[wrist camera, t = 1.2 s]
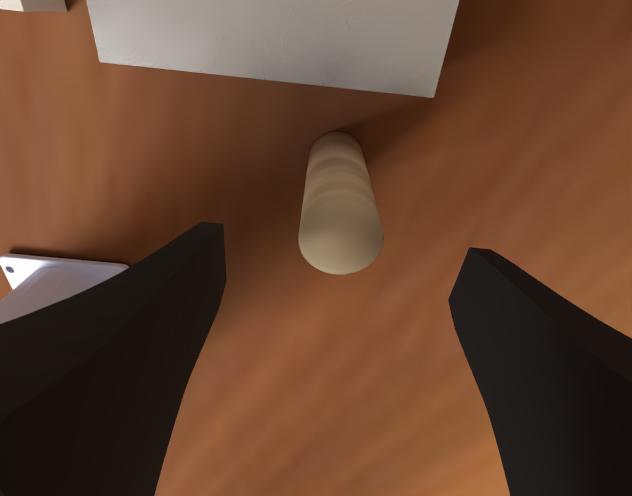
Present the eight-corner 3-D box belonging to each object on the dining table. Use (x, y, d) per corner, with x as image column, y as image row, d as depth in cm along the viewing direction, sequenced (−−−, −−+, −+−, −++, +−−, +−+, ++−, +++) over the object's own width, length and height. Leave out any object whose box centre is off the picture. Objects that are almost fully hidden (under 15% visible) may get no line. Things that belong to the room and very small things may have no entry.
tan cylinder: (358, 186, 19) (374, 277, 12) (306, 181, 19) (295, 270, 12) (367, 134, 18) (391, 206, 11) (311, 128, 17) (301, 197, 11)
